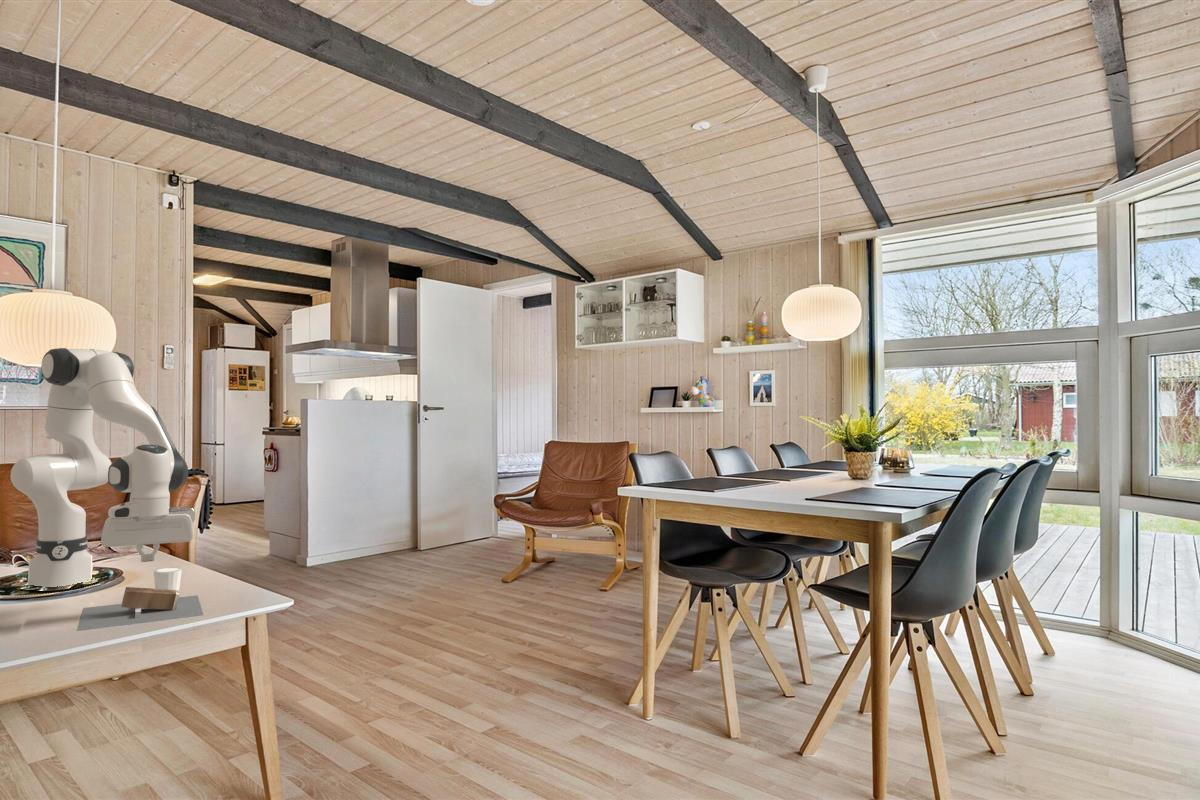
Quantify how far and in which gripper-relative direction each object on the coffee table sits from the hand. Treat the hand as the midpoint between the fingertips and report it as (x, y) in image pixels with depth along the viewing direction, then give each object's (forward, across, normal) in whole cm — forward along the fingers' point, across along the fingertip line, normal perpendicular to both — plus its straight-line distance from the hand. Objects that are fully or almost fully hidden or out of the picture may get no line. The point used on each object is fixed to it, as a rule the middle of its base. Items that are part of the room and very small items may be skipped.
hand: (147, 561), depth 184 cm
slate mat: (+13, +1, +1) cm, 13 cm away
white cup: (+14, -5, -18) cm, 24 cm away
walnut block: (+8, +5, 0) cm, 10 cm away
